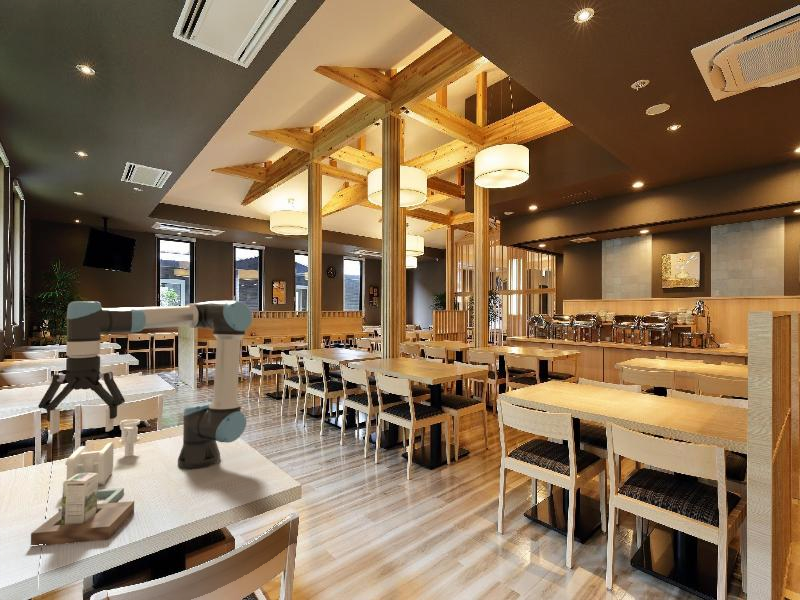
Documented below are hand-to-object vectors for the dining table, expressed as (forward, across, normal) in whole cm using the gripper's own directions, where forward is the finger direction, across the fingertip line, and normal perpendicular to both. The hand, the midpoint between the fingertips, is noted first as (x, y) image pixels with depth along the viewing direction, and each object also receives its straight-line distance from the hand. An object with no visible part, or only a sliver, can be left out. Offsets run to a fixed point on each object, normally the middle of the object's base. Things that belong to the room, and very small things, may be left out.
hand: (82, 431), depth 111 cm
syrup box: (+27, 0, +1) cm, 27 cm away
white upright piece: (+27, +13, -58) cm, 65 cm away
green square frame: (+27, +4, -14) cm, 30 cm away
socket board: (+27, -2, +1) cm, 27 cm away
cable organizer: (+27, +14, -32) cm, 44 cm away
